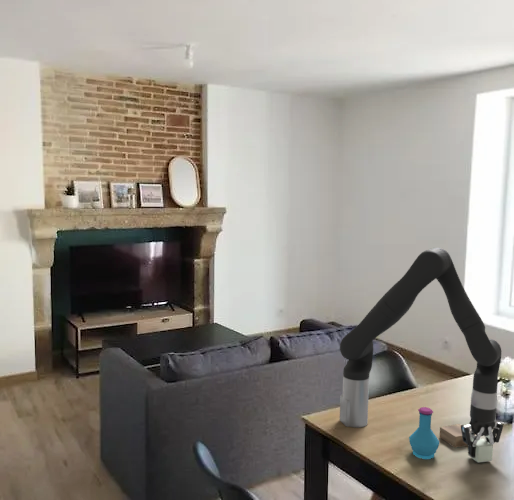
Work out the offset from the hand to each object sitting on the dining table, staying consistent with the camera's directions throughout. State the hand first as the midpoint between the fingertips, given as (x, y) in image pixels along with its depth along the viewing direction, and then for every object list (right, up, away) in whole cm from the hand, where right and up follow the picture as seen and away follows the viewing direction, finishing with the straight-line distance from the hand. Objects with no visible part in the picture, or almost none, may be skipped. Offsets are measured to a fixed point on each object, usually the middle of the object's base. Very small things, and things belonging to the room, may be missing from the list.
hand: (480, 455), depth 175 cm
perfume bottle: (-17, -1, +4) cm, 17 cm away
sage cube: (0, -1, 0) cm, 1 cm away
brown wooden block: (-2, 0, +14) cm, 14 cm away
